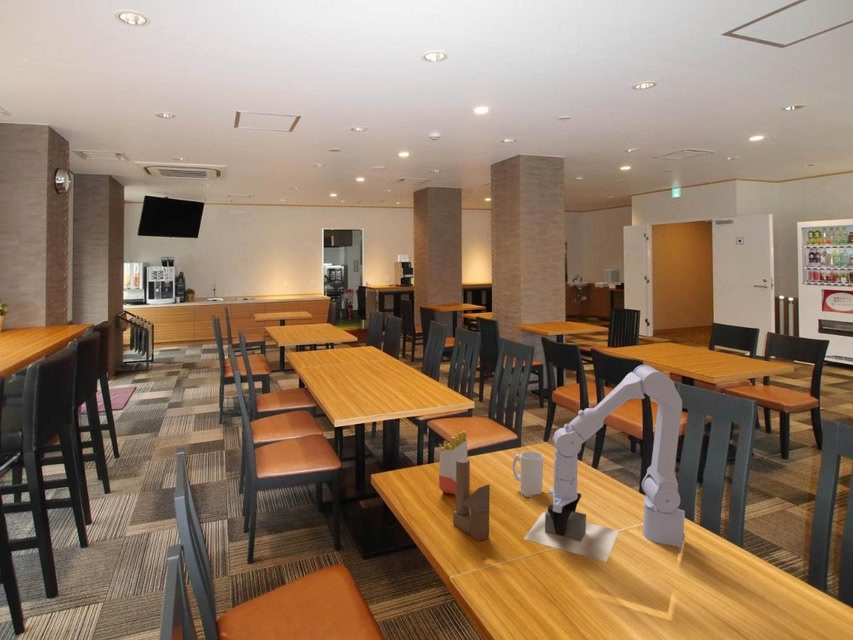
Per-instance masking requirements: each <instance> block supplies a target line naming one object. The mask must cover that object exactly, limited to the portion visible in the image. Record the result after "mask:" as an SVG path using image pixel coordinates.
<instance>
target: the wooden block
mask: <svg viewBox="0 0 853 640" xmlns="http://www.w3.org/2000/svg"><path fill="white" fill-rule="evenodd" d="M470 466H471V462H470V459H468V458H467V459H465V458H460V459H457V460H456V495H455V510H454V511H452V515H453V516H452V519H453V520H452V521H453V522H452V524H453V525H455V526H456V527H457V528H459V529H461V531H464V532H465V533H466V534H467V535H469V536H471V537H472V538H473V539H475V540H476V541H478V542H479V541H482V540H485V539H487V538H490V504H491V503H490V500H491V499H490V493H491V492H490V490H491V489H490V488H491V487H490V486H491V485H490V484H486V485H482V486H479V487H478V488H477V489H475V491H473V493H471V492H470V491H471V490H470V489H471V485H470V484H471V482H470V481H471V478H470V475H471V471H470V470H471V467H470ZM470 493H471V494H470Z"/></svg>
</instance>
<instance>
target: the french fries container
mask: <svg viewBox="0 0 853 640" xmlns="http://www.w3.org/2000/svg"><path fill="white" fill-rule="evenodd" d="M457 433H458V435H456V434H455V435H453V436H450V442H449V441H448V440H443V446H441V448H440V451H441V452H439V471H438V482H439V483H438V488H439V489H440V490H441V492H442V493H444V492H445V494H448V493H449V495H452V494H453V496H456V460H457V459H460V458H465V459H468V439H467V431H465V430H463V431H460V432H457Z"/></svg>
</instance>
